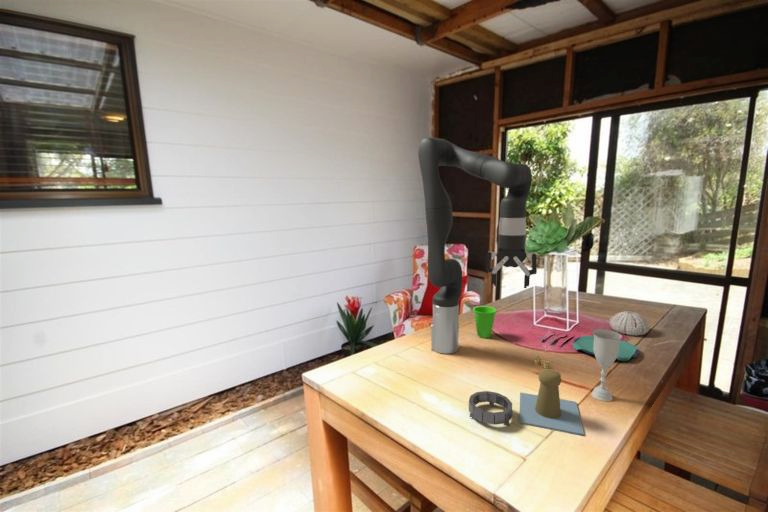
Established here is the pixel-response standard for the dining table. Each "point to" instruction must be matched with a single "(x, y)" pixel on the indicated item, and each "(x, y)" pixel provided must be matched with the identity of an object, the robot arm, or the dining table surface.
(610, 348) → the chalice
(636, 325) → the sea urchin shell
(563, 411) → the rubber mat
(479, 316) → the cup
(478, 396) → the grey segmented ring
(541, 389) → the cork
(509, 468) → the dining table surface
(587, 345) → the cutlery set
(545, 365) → the dice set
